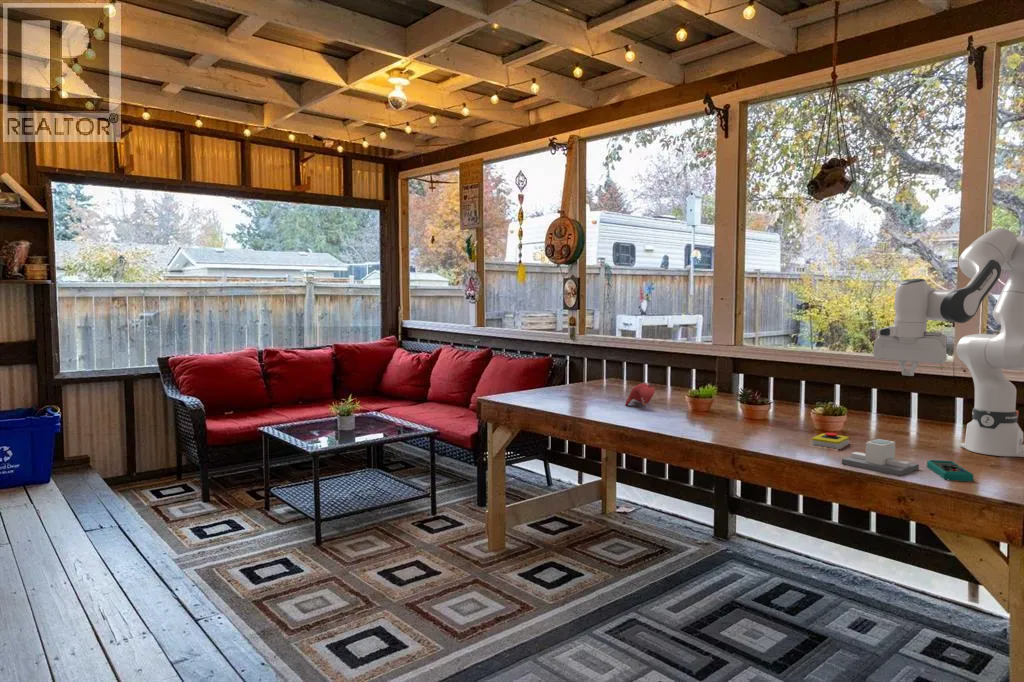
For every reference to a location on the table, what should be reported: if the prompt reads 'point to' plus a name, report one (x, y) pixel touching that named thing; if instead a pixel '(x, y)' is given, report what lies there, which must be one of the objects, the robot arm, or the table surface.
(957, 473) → the digital multimeter
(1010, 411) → the robot arm
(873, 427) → the table surface
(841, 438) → the emergency button
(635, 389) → the decorative bird sculpture
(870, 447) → the block
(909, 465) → the rail board
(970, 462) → the table surface
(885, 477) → the table surface
